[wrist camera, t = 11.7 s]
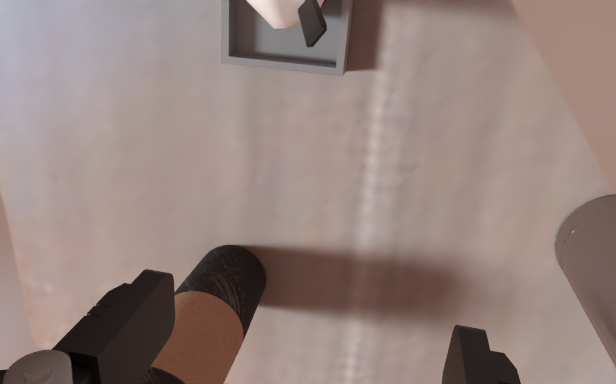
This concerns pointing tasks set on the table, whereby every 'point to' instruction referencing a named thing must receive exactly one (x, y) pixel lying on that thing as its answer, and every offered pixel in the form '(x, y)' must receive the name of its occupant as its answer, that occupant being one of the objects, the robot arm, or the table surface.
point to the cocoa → (294, 16)
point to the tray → (285, 40)
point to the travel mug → (210, 319)
